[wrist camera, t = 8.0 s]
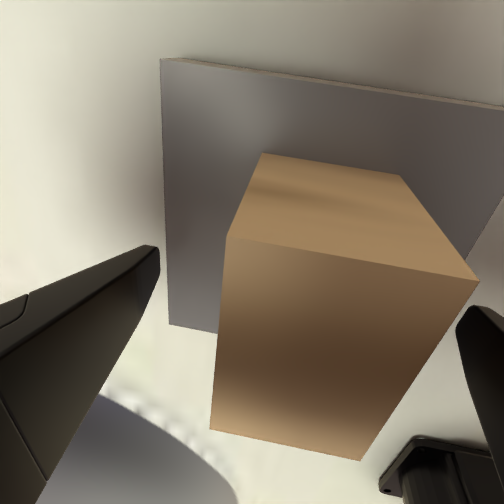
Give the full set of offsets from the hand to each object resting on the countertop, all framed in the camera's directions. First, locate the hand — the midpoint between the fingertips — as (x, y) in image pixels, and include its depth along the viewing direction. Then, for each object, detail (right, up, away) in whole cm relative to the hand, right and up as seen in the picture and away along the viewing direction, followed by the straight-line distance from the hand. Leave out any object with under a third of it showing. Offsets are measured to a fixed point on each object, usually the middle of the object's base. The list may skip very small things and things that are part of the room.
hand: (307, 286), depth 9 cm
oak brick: (0, +1, +2) cm, 2 cm away
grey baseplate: (+1, +2, +3) cm, 4 cm away
